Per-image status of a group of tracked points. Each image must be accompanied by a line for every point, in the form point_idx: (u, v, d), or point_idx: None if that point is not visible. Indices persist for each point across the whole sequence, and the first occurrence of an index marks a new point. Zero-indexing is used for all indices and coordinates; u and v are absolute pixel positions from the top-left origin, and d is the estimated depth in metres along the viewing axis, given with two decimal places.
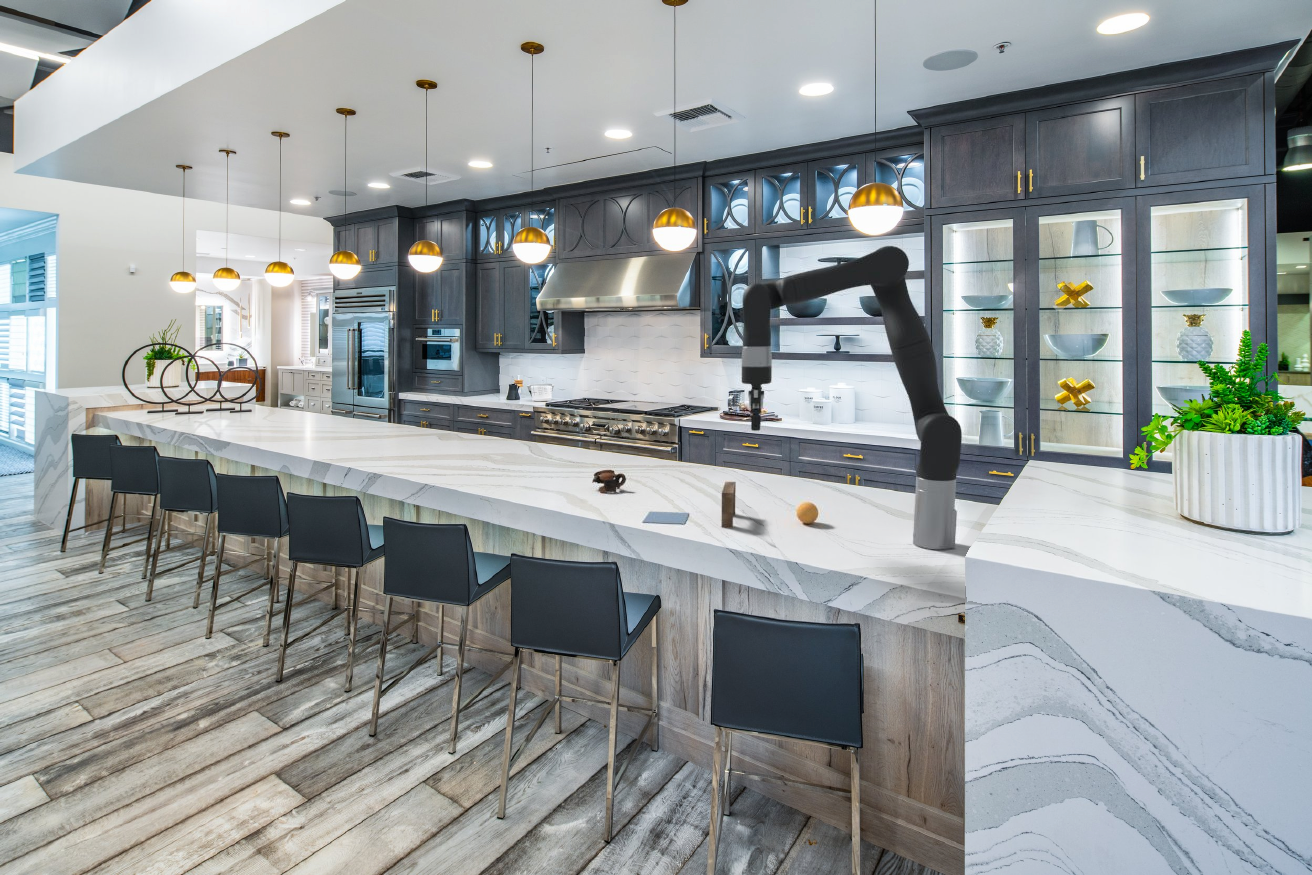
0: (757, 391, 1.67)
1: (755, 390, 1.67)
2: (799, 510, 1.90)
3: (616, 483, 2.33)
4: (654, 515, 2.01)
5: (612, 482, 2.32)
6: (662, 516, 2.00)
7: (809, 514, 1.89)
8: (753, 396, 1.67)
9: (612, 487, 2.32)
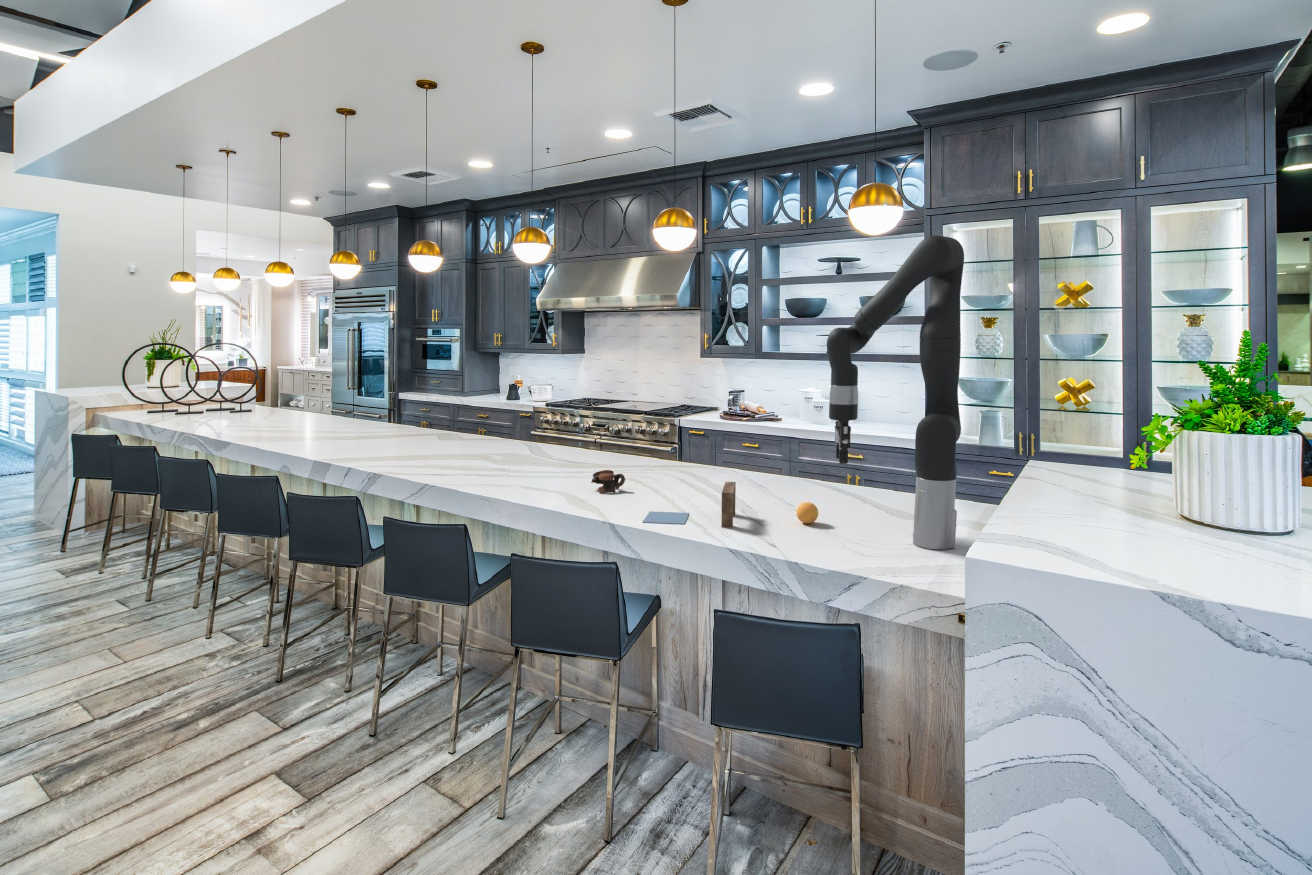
0: (847, 428, 1.80)
1: (845, 427, 1.80)
2: (799, 510, 1.90)
3: (615, 483, 2.33)
4: (654, 515, 2.01)
5: (611, 482, 2.32)
6: (662, 516, 2.00)
7: (809, 514, 1.89)
8: (843, 432, 1.80)
9: (611, 487, 2.32)
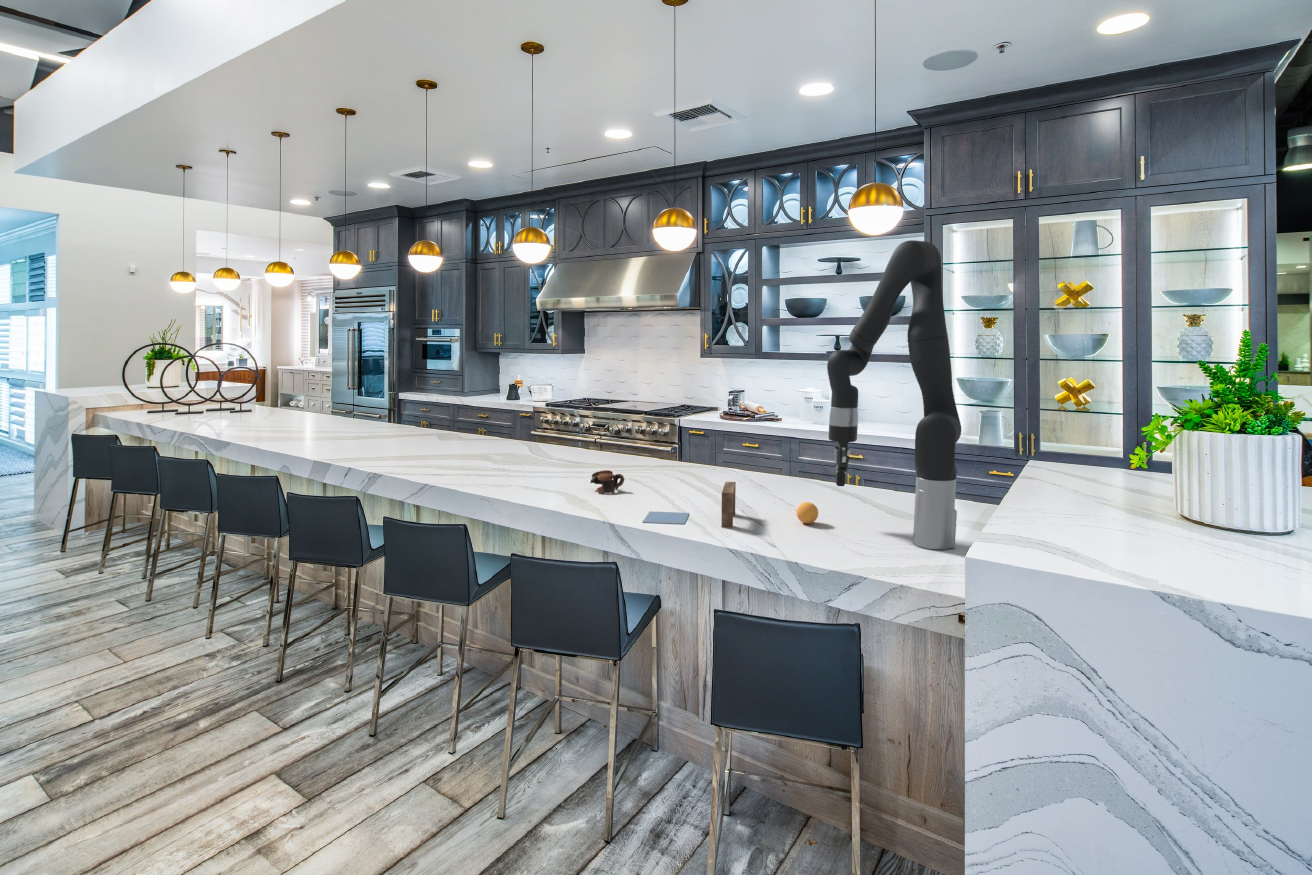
0: (845, 459, 1.82)
1: (843, 458, 1.82)
2: (799, 510, 1.90)
3: (614, 484, 2.32)
4: (654, 515, 2.01)
5: (610, 482, 2.31)
6: (662, 516, 2.00)
7: (809, 514, 1.89)
8: (841, 462, 1.83)
9: (611, 487, 2.31)
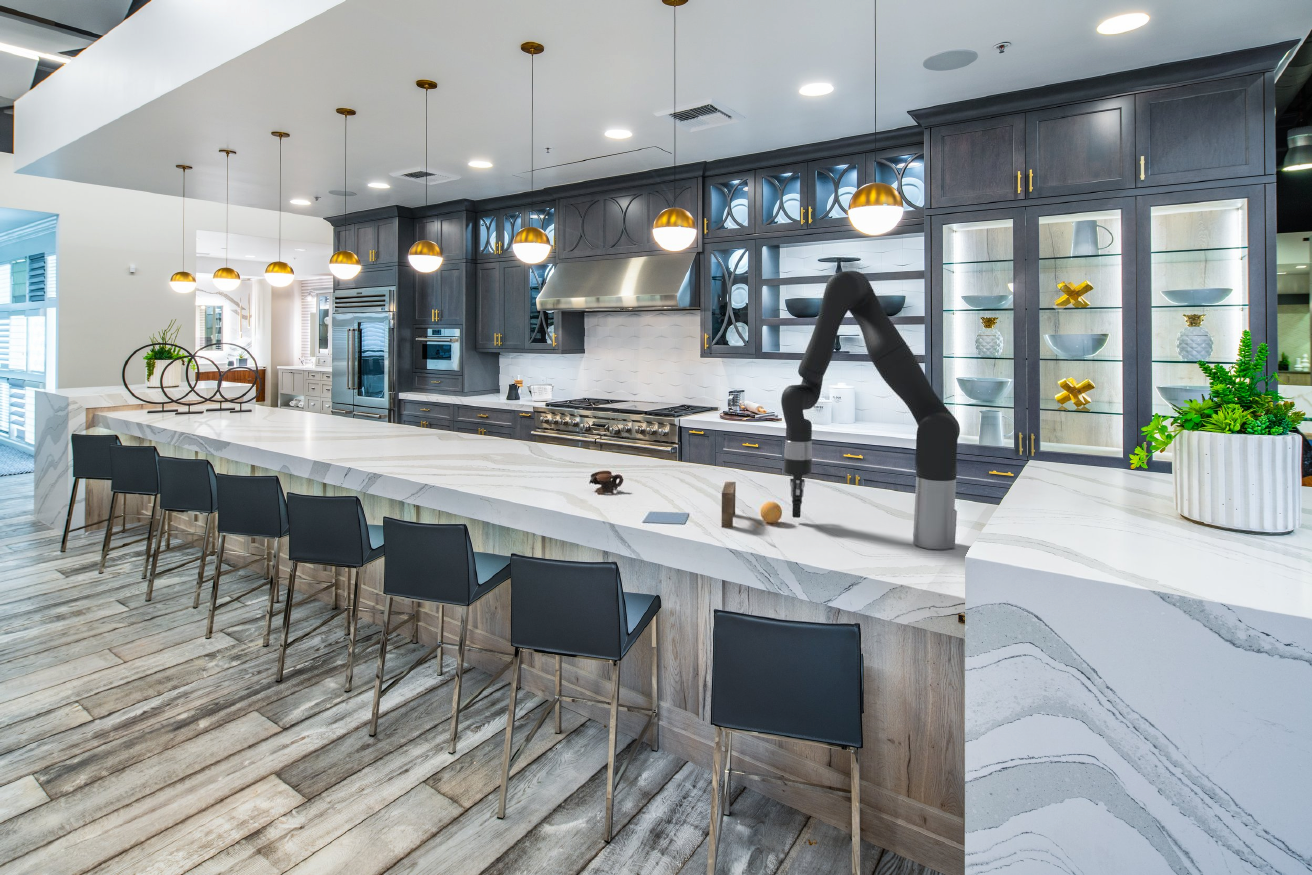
0: (799, 492, 1.86)
1: (797, 491, 1.86)
2: (779, 518, 1.91)
3: (613, 484, 2.32)
4: (654, 515, 2.01)
5: (609, 483, 2.31)
6: (662, 516, 2.00)
7: (770, 516, 1.90)
8: (795, 494, 1.87)
9: (610, 488, 2.31)
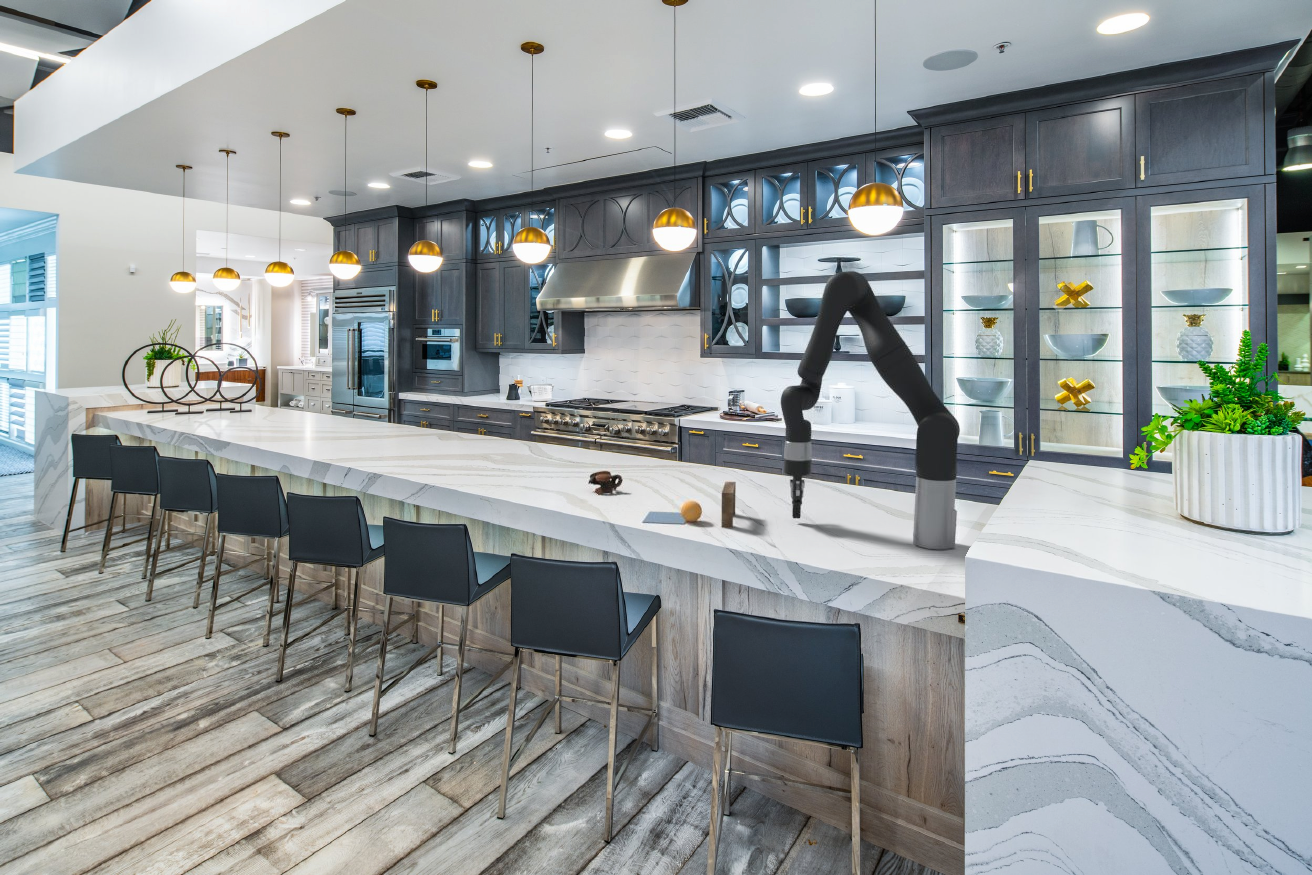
0: (799, 492, 1.85)
1: (797, 491, 1.85)
2: (698, 507, 1.93)
3: (612, 484, 2.31)
4: (654, 515, 2.01)
5: (608, 483, 2.30)
6: (662, 516, 2.00)
7: (691, 515, 1.92)
8: (795, 495, 1.86)
9: (609, 488, 2.30)
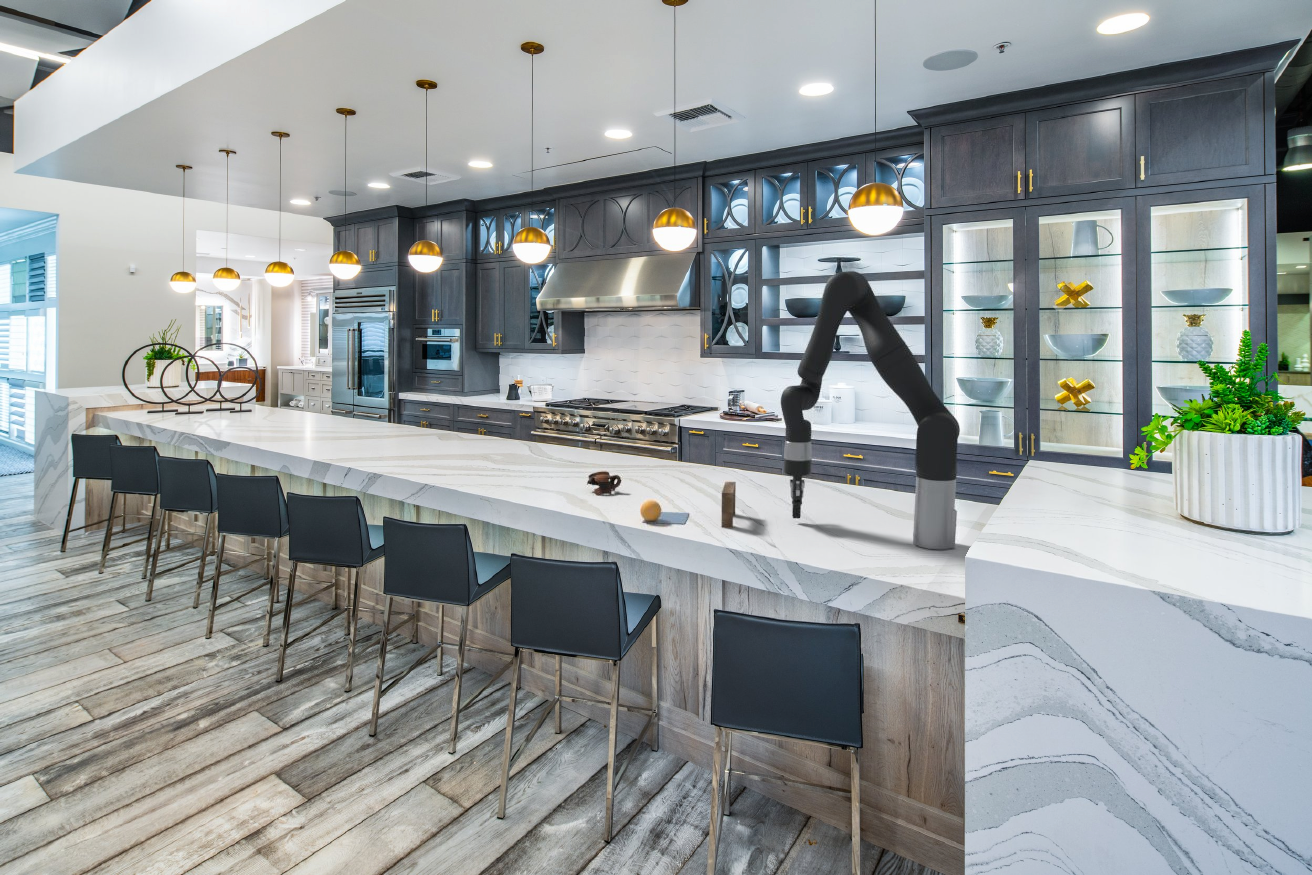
0: (799, 492, 1.85)
1: (797, 491, 1.85)
2: (648, 520, 1.94)
3: (611, 485, 2.31)
4: None
5: (607, 484, 2.30)
6: (662, 516, 2.00)
7: (648, 512, 1.92)
8: (795, 495, 1.86)
9: (608, 489, 2.30)
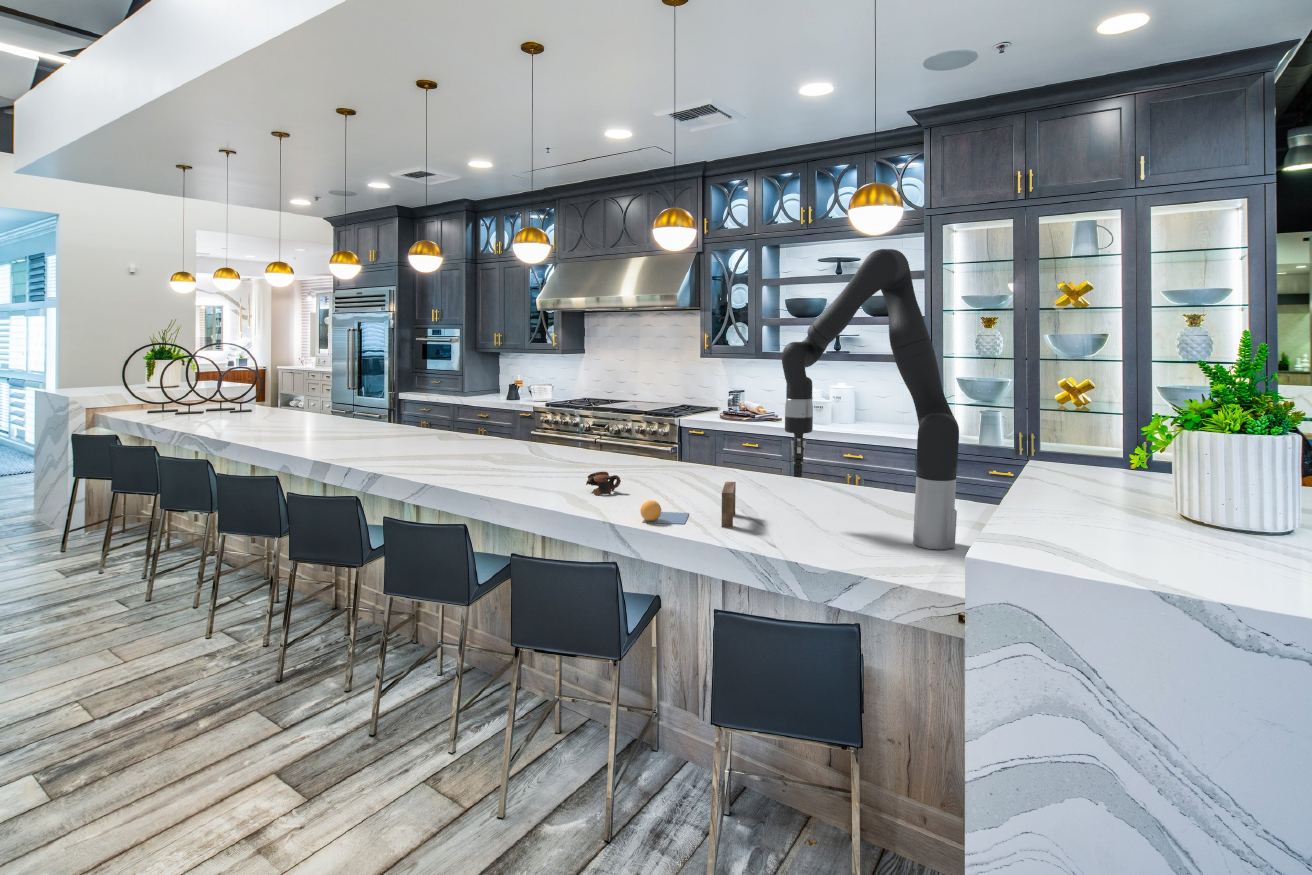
0: (800, 449, 1.84)
1: (798, 449, 1.84)
2: (648, 520, 1.94)
3: (611, 485, 2.30)
4: None
5: (606, 484, 2.29)
6: (662, 516, 2.00)
7: (648, 512, 1.92)
8: (796, 453, 1.85)
9: (607, 489, 2.29)
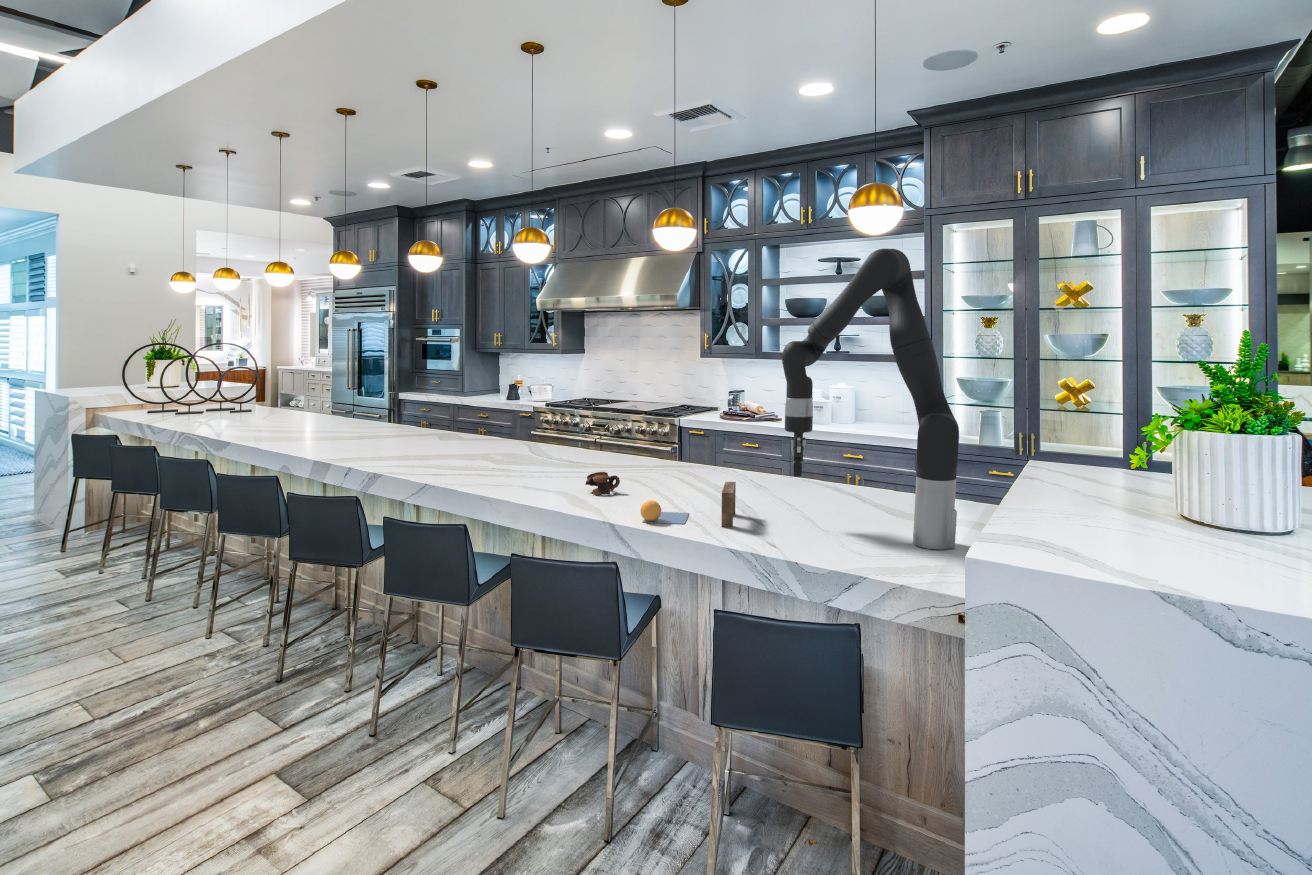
0: (800, 449, 1.84)
1: (798, 448, 1.84)
2: (648, 520, 1.94)
3: (610, 485, 2.30)
4: None
5: (606, 484, 2.29)
6: (662, 516, 2.00)
7: (648, 512, 1.92)
8: (796, 452, 1.85)
9: (606, 489, 2.29)
